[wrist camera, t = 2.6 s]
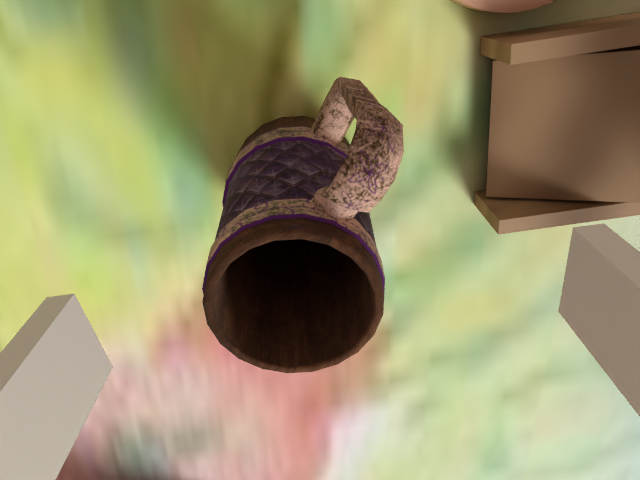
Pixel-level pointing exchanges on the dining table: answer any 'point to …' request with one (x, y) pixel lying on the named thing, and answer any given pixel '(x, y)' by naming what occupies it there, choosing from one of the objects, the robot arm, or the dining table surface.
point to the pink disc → (502, 5)
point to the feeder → (563, 124)
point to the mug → (304, 236)
